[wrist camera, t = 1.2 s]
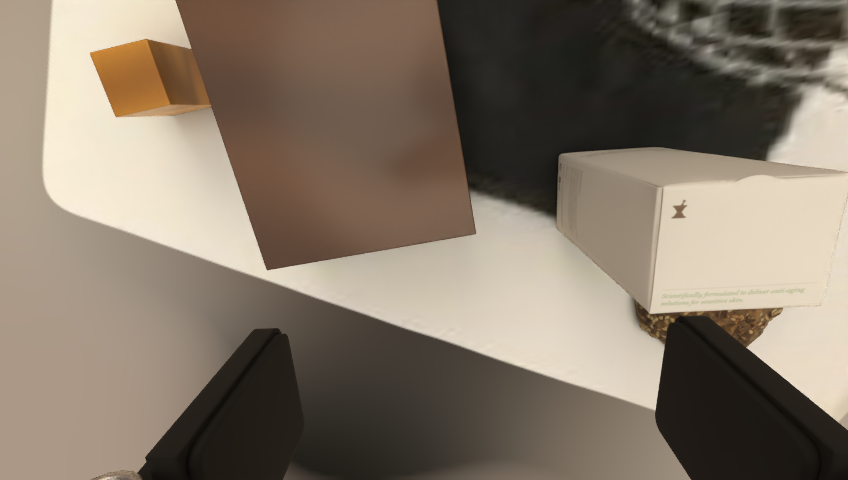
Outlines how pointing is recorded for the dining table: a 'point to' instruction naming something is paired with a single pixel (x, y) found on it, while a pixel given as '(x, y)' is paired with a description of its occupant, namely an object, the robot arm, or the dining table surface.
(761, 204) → the cosmetic box
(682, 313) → the bread roll
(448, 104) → the cabinet
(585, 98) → the dining table surface
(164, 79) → the block
